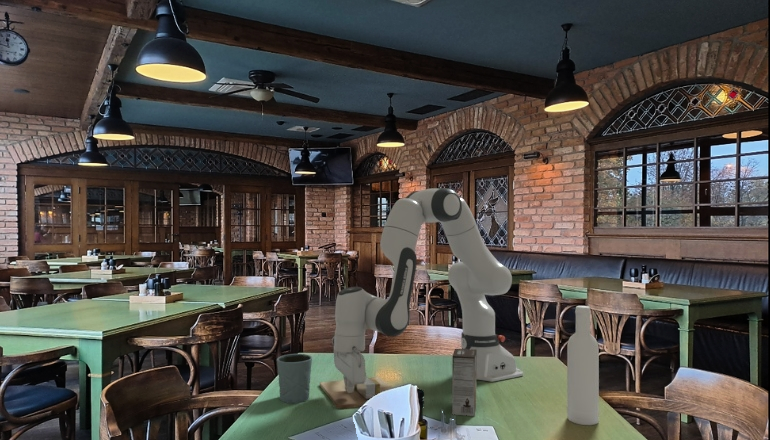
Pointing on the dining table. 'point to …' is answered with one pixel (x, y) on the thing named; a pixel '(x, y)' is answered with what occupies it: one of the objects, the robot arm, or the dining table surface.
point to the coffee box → (464, 382)
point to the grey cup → (294, 377)
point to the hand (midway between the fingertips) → (349, 391)
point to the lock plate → (353, 399)
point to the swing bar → (366, 388)
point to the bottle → (583, 372)
